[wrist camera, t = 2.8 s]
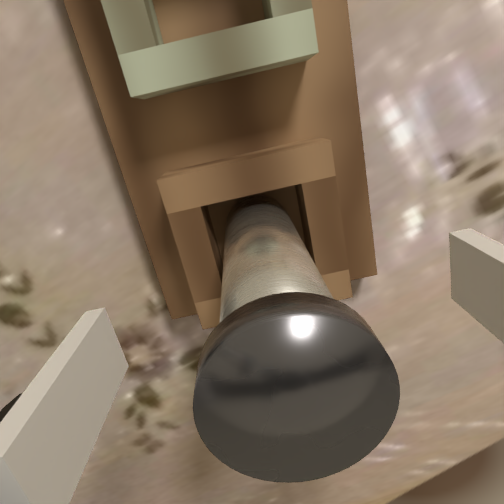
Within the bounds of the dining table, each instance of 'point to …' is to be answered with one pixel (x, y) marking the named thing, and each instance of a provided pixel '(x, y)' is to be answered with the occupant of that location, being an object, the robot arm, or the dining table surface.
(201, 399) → the lock pin
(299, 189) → the socket board
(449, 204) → the dining table surface
